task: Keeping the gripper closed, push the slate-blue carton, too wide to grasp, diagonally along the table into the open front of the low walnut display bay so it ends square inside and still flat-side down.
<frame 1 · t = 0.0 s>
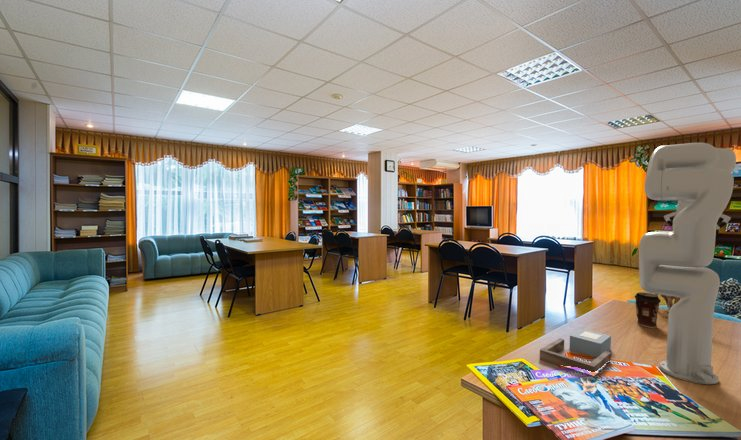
hand: (694, 239, 123), 37 cm above the table, tool pointing down, fingers open, 9 cm apart
horse figurine: (675, 317, 155), on the table
display bay: (575, 359, 109), on the table
coffee cup: (646, 325, 143), on the table
carton: (590, 350, 117), on the table
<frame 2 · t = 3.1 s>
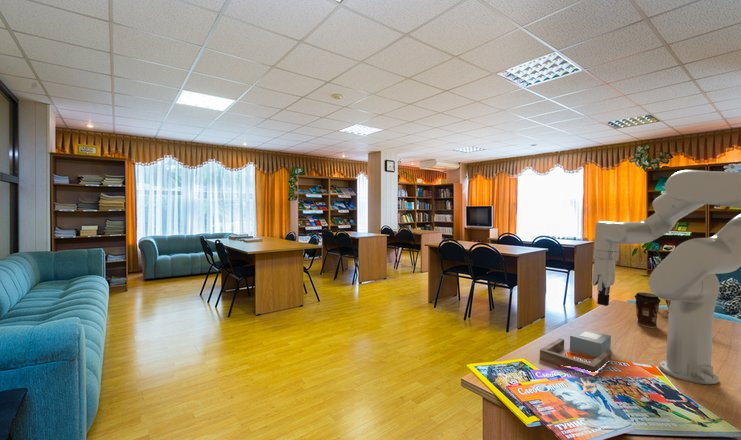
hand: (602, 304, 127), 13 cm above the table, tool pointing down, fingers closed
nothing on the table moved.
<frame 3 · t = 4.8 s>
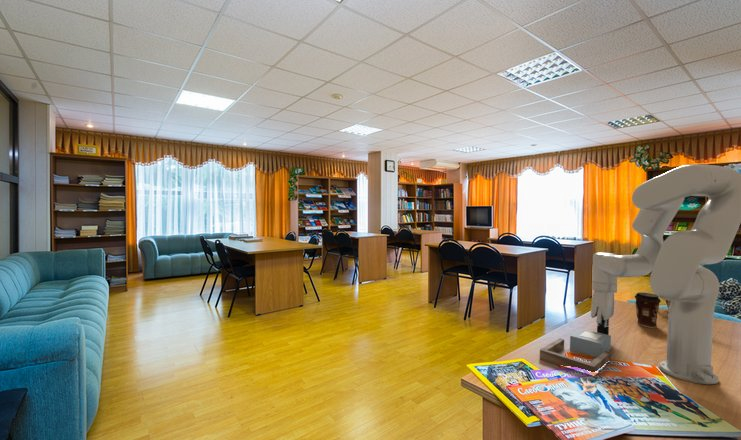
hand: (602, 336, 126), 1 cm above the table, tool pointing down, fingers closed
nothing on the table moved.
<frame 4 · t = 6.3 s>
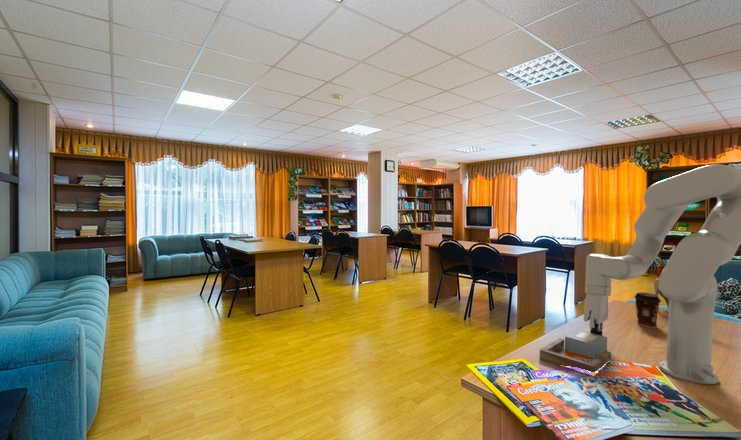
hand: (595, 341, 121), 1 cm above the table, tool pointing down, fingers closed
carton: (585, 351, 117), on the table, touching gripper
everything else where it was.
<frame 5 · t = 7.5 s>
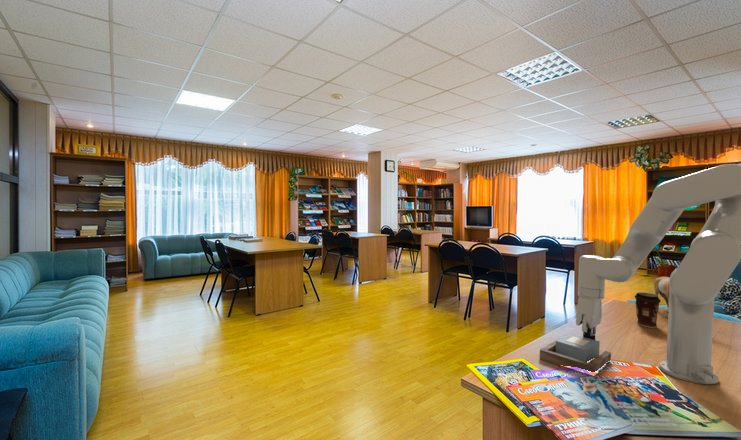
hand: (588, 346, 117), 1 cm above the table, tool pointing down, fingers closed
carton: (577, 356, 112), on the table, touching gripper
everything else where it was.
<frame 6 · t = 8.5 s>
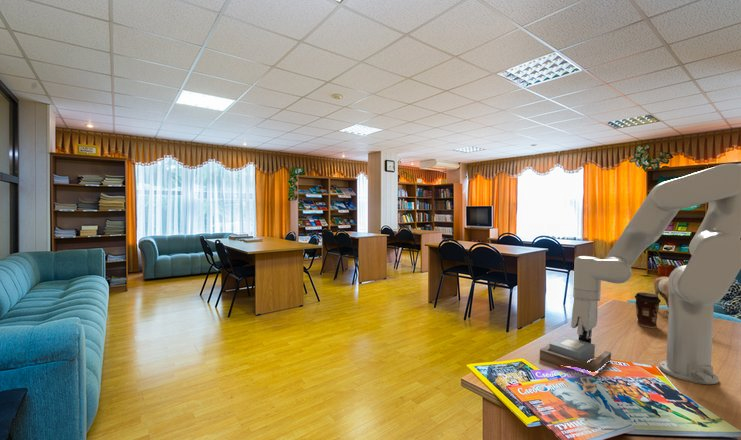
hand: (584, 349, 114), 1 cm above the table, tool pointing down, fingers closed
carton: (571, 359, 110), on the table
everything else where it was.
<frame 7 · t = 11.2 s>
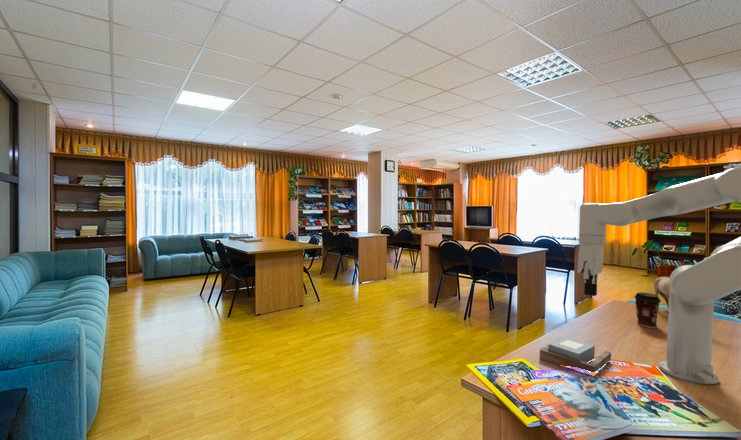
hand: (590, 294, 115), 19 cm above the table, tool pointing down, fingers closed
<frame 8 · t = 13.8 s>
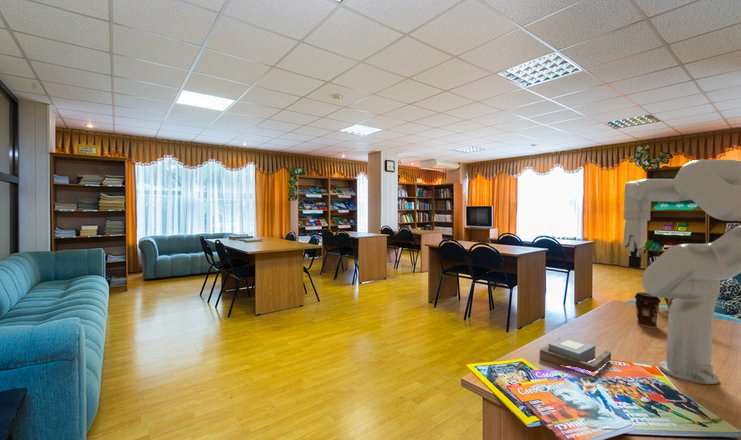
hand: (634, 267, 123), 27 cm above the table, tool pointing down, fingers closed
nothing on the table moved.
at the end: carton 1.2 cm off-centre on the display bay, point 0.0 cm above the display bay's base; carton tilted 0° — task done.
